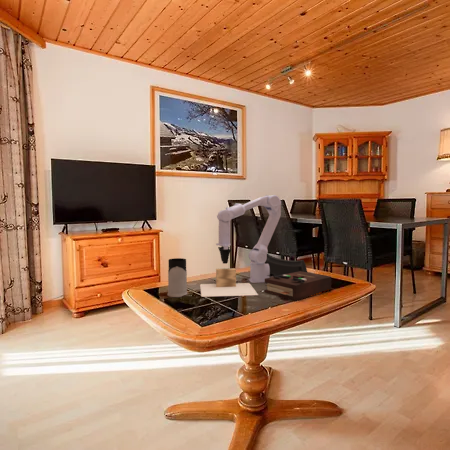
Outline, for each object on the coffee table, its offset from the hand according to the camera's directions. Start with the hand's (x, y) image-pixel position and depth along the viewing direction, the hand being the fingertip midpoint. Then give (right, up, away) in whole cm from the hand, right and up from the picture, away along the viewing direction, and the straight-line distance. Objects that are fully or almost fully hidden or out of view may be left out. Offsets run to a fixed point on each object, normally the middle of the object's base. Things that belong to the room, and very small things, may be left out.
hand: (224, 262), depth 161 cm
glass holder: (-20, -12, -16) cm, 29 cm away
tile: (+1, -10, -6) cm, 12 cm away
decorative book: (+33, -12, -15) cm, 38 cm away
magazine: (+31, -10, +18) cm, 37 cm away
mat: (+1, -11, -12) cm, 17 cm away
